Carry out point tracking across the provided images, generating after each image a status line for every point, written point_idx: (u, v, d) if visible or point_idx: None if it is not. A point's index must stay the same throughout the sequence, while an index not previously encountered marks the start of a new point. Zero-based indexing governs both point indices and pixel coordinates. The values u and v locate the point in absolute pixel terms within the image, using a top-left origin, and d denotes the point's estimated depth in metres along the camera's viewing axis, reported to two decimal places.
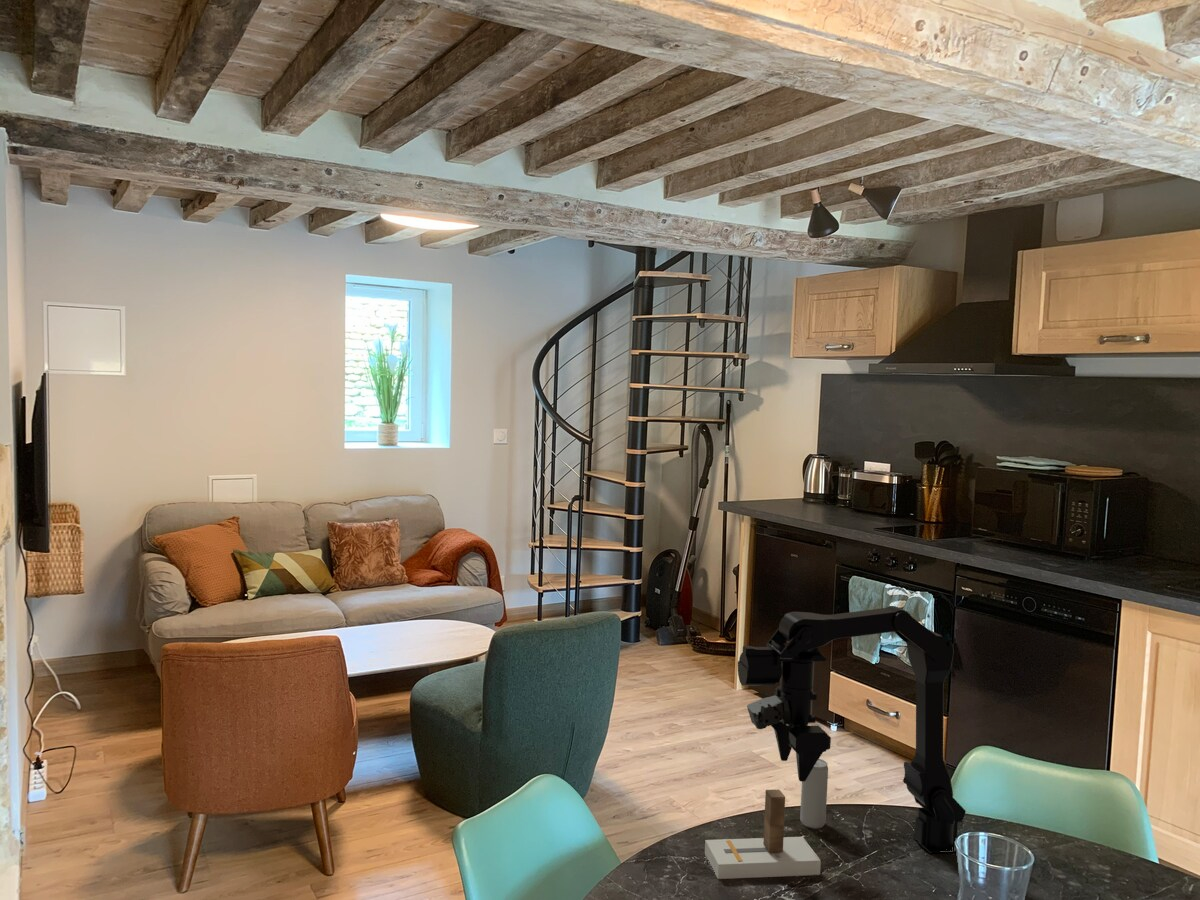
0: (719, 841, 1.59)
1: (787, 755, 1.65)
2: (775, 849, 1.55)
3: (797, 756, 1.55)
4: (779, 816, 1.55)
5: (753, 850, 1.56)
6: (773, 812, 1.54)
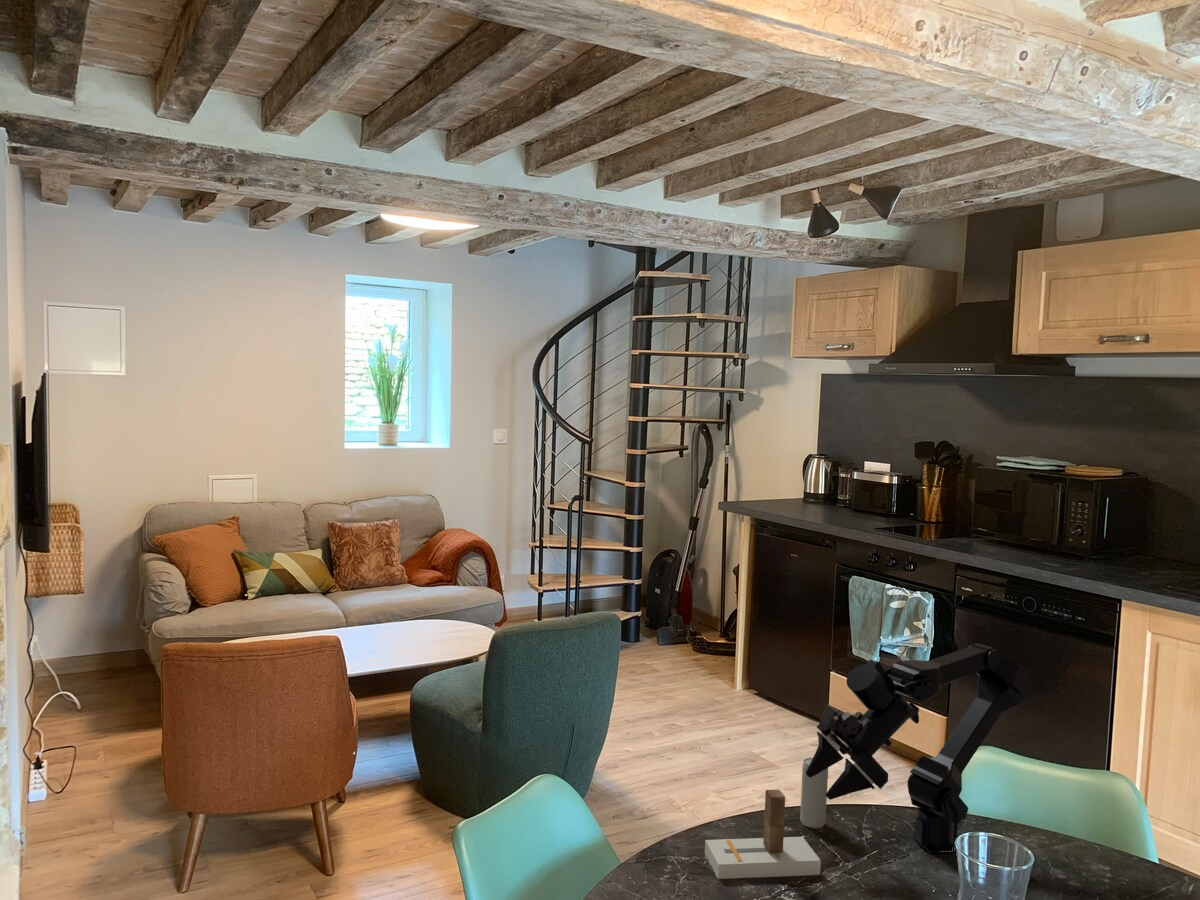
0: (719, 841, 1.59)
1: (813, 774, 1.61)
2: (775, 849, 1.55)
3: (844, 774, 1.52)
4: (779, 816, 1.55)
5: (753, 850, 1.56)
6: (773, 812, 1.54)
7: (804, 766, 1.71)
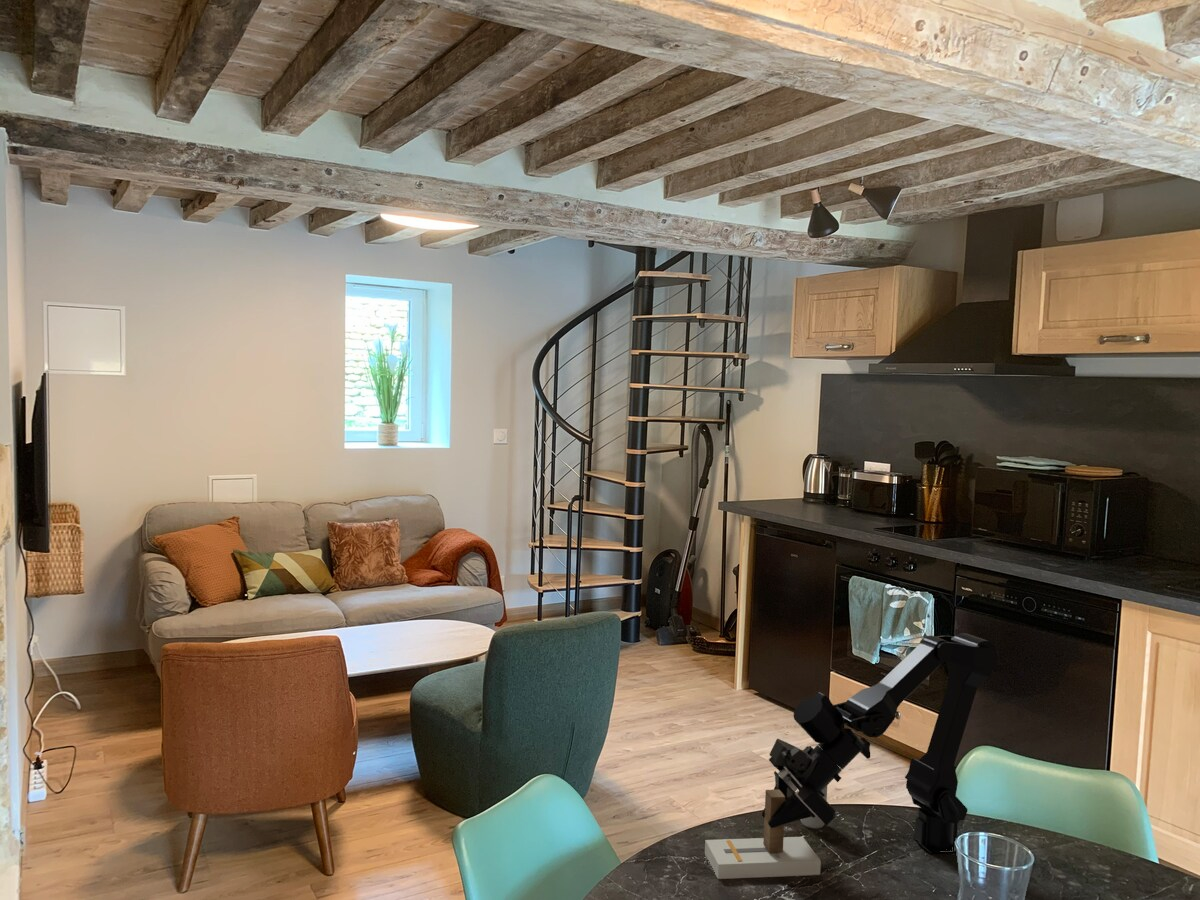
0: (719, 841, 1.59)
1: None
2: (775, 849, 1.55)
3: (785, 802, 1.53)
4: None
5: (753, 850, 1.56)
6: (773, 812, 1.54)
7: None
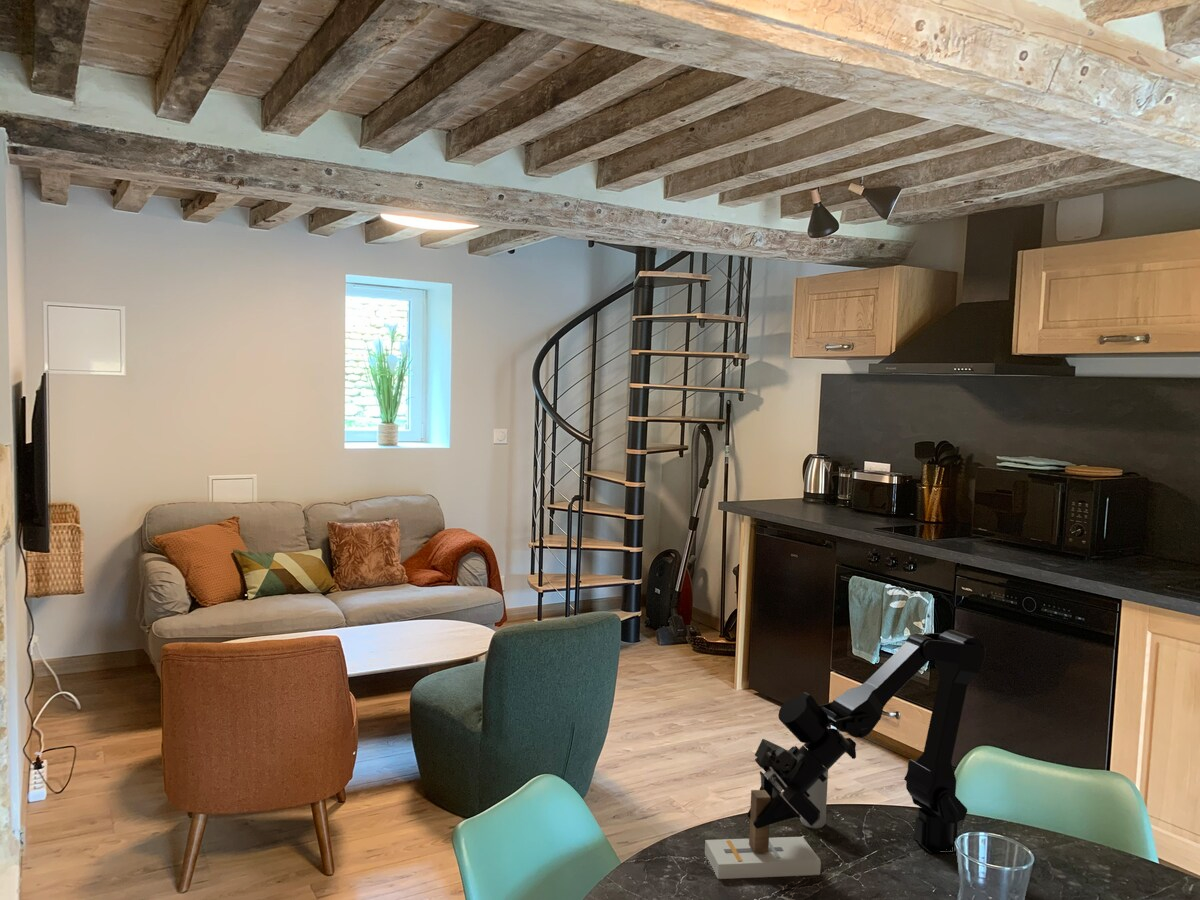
0: (719, 841, 1.59)
1: None
2: (760, 850, 1.54)
3: (770, 803, 1.53)
4: None
5: None
6: (758, 812, 1.54)
7: None
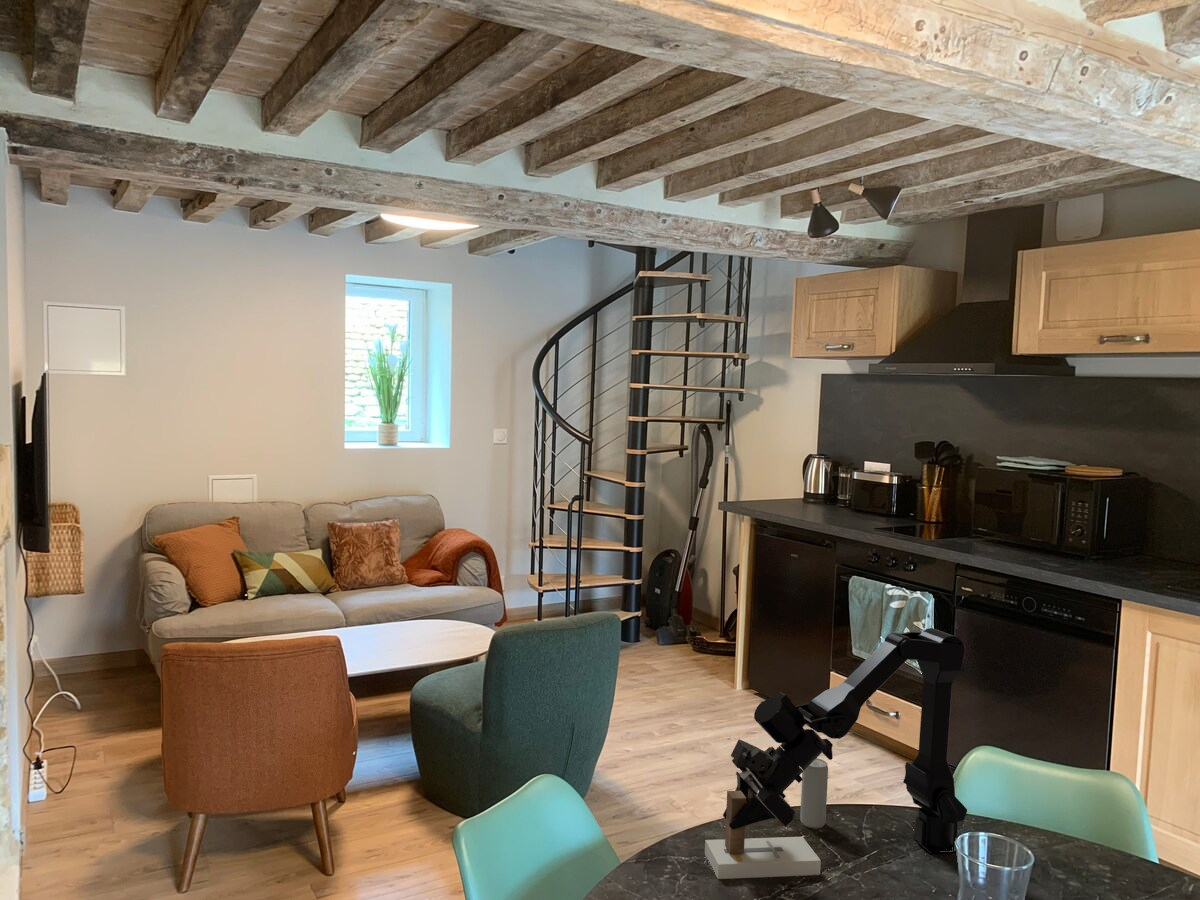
0: (719, 841, 1.59)
1: None
2: (736, 850, 1.54)
3: (746, 804, 1.52)
4: None
5: (753, 850, 1.56)
6: (733, 813, 1.53)
7: None
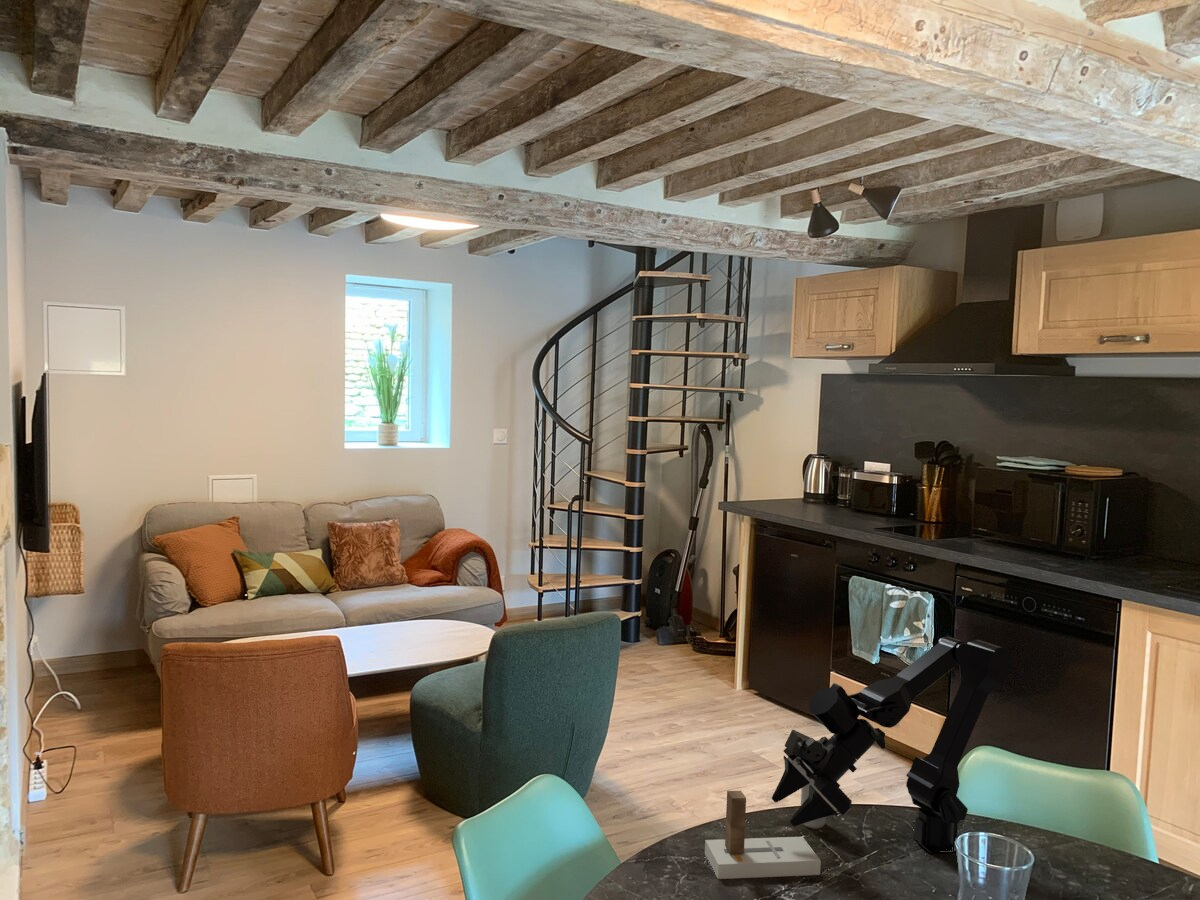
0: (719, 841, 1.59)
1: (779, 799, 1.61)
2: (736, 850, 1.54)
3: (807, 800, 1.51)
4: (740, 817, 1.54)
5: (753, 850, 1.56)
6: (733, 813, 1.53)
7: None
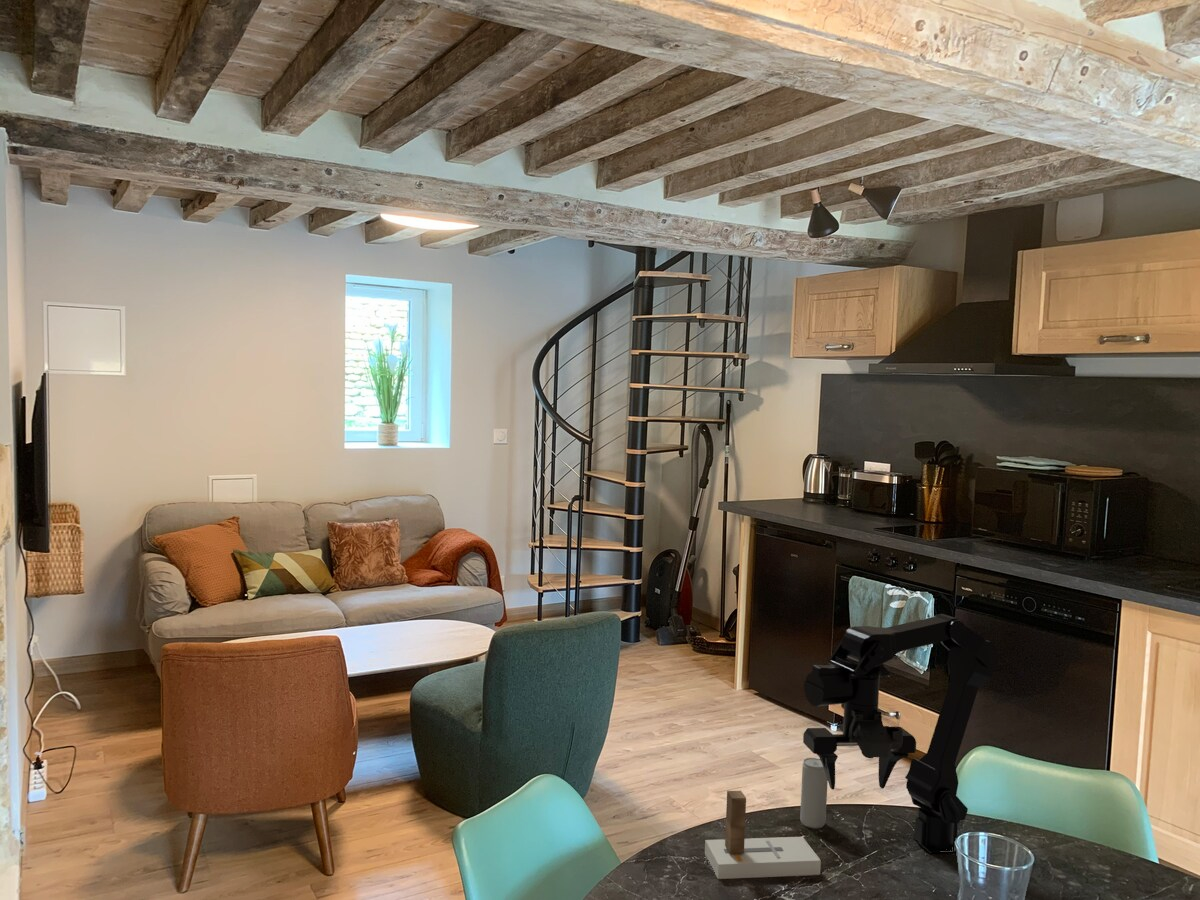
0: (719, 841, 1.59)
1: None
2: (736, 850, 1.54)
3: (891, 764, 1.57)
4: (740, 817, 1.54)
5: (753, 850, 1.56)
6: (733, 813, 1.53)
7: (804, 766, 1.71)
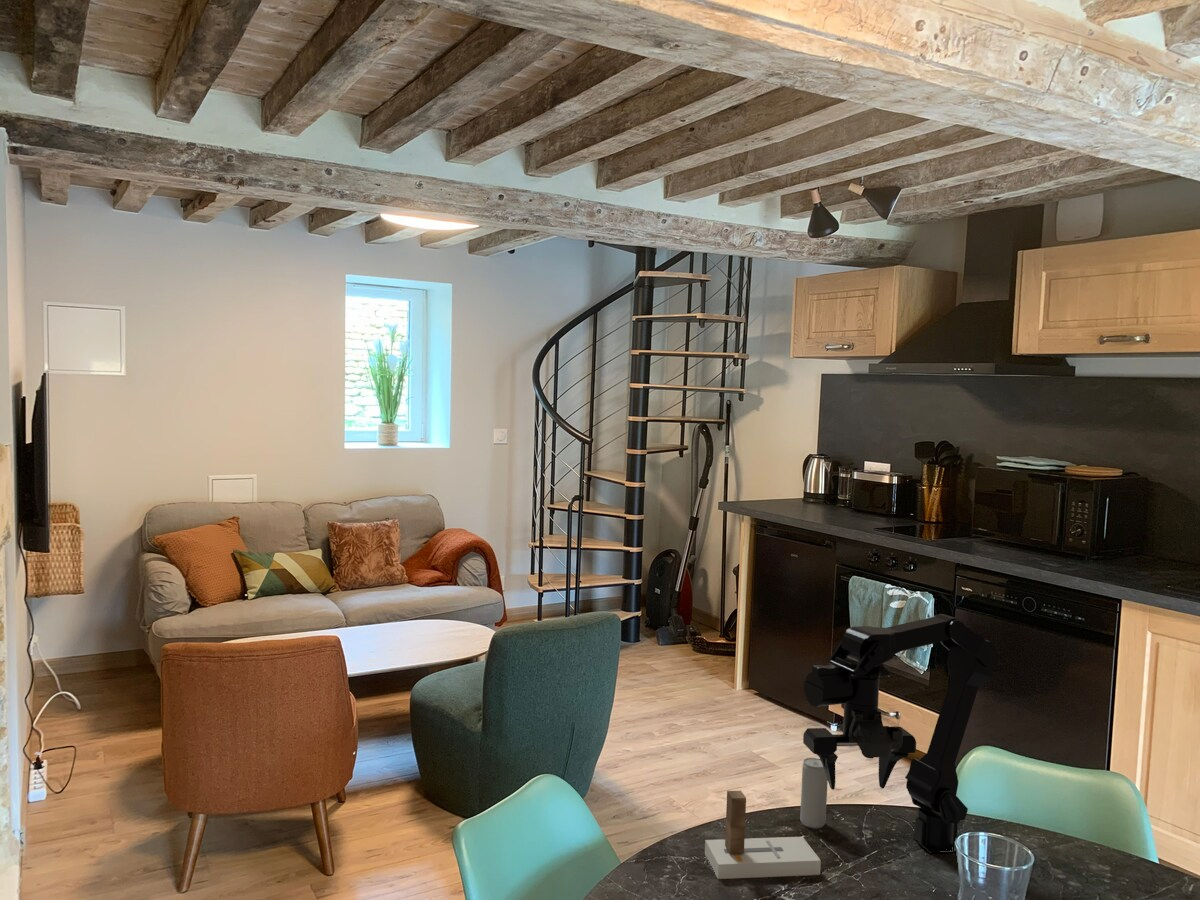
0: (719, 841, 1.59)
1: None
2: (736, 850, 1.54)
3: (891, 764, 1.57)
4: (740, 817, 1.54)
5: (753, 850, 1.56)
6: (733, 813, 1.53)
7: (804, 766, 1.71)
